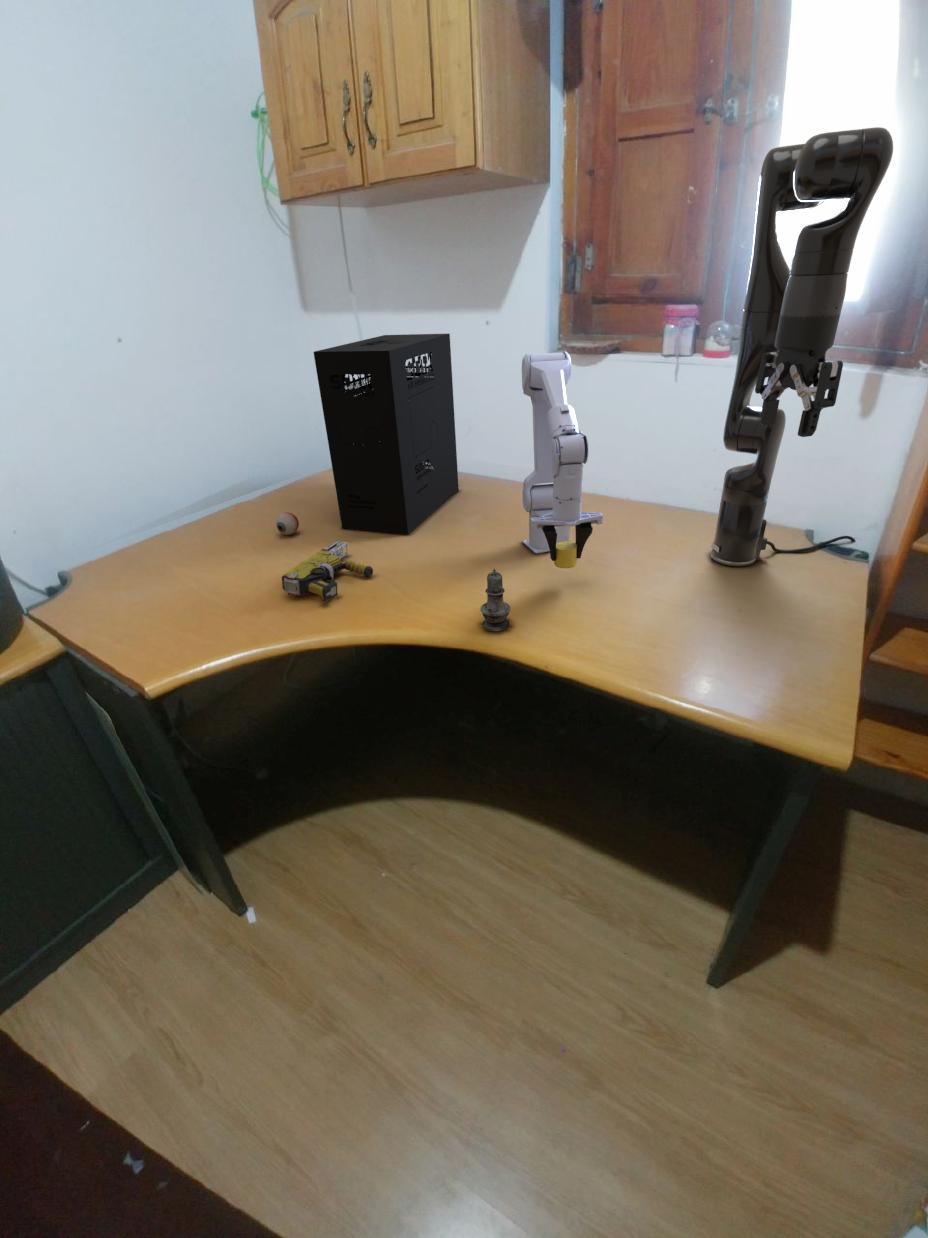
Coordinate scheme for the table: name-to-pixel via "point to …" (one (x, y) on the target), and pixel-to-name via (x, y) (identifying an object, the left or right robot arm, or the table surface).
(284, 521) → the eyeball
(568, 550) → the tin
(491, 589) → the grey tall turned piece
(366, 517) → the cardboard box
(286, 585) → the toy gun
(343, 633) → the table surface
